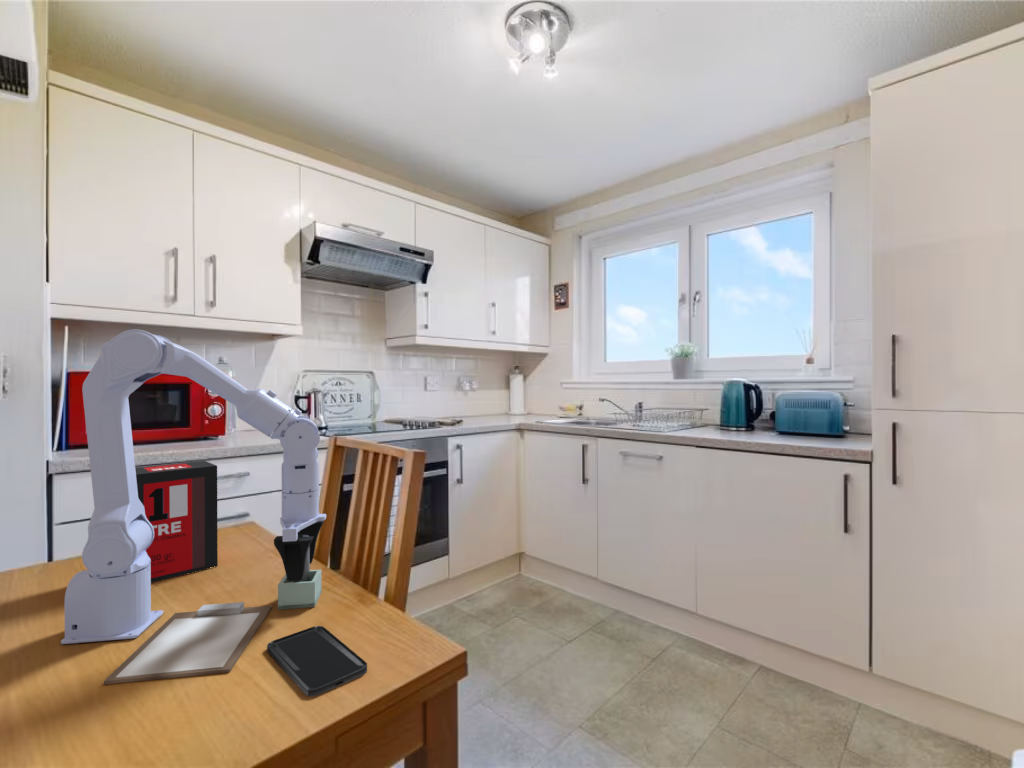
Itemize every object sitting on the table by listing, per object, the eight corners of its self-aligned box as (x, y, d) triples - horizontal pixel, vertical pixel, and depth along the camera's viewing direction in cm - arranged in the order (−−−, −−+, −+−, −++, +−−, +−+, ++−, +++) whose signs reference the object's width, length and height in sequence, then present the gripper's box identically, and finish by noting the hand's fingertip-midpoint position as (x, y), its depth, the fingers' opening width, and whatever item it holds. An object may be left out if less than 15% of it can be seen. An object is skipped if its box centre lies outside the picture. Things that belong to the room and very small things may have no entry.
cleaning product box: (110, 592, 86) (110, 477, 86) (103, 578, 93) (103, 470, 93) (217, 566, 98) (217, 465, 98) (204, 555, 105) (204, 460, 104)
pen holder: (277, 609, 80) (277, 584, 80) (287, 594, 85) (287, 571, 85) (314, 606, 81) (314, 582, 81) (321, 592, 86) (321, 569, 86)
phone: (320, 624, 74) (370, 665, 63) (320, 631, 74) (370, 674, 63) (263, 643, 68) (308, 693, 57) (263, 652, 68) (308, 702, 57)
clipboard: (103, 684, 60) (103, 672, 60) (175, 615, 78) (175, 606, 78) (229, 672, 63) (229, 661, 63) (271, 608, 80) (271, 599, 80)
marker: (291, 601, 82) (290, 540, 81) (295, 593, 84) (294, 535, 84) (308, 599, 82) (307, 539, 82) (311, 592, 85) (310, 534, 84)
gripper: (316, 499, 77) (317, 587, 77) (333, 480, 91) (333, 554, 91) (267, 501, 75) (267, 590, 75) (291, 481, 90) (292, 557, 90)
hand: (300, 571), depth 83 cm, fingers open, 7 cm apart
